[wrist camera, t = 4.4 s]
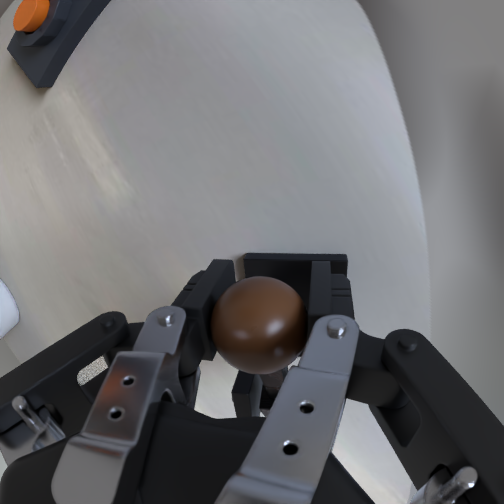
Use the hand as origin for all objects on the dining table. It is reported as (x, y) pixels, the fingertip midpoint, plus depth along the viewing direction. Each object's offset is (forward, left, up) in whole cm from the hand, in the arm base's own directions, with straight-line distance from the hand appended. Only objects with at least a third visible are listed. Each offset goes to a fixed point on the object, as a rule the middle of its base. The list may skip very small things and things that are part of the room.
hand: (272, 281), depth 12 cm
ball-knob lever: (+2, +3, -1) cm, 4 cm away
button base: (+3, -29, -11) cm, 31 cm away
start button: (+3, -29, -8) cm, 30 cm away
